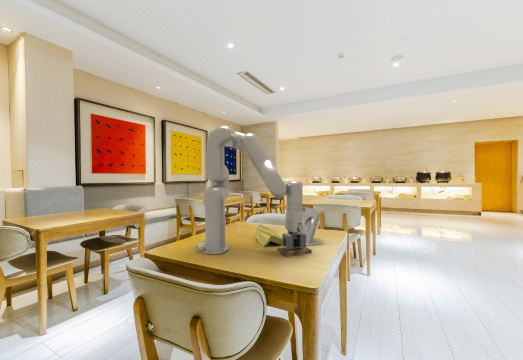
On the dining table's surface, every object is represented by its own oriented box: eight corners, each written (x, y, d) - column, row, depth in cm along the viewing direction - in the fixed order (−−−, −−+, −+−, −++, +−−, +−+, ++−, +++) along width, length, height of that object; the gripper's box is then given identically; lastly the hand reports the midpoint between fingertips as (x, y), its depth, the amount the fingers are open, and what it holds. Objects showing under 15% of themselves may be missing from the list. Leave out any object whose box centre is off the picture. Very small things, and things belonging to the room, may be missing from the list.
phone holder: (289, 237, 136) (289, 207, 135) (304, 236, 140) (304, 206, 139) (305, 246, 120) (306, 211, 119) (322, 244, 124) (322, 210, 123)
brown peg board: (284, 256, 106) (284, 244, 105) (277, 251, 113) (277, 239, 113) (311, 253, 110) (311, 241, 110) (303, 247, 118) (303, 237, 118)
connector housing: (286, 249, 108) (287, 236, 107) (282, 246, 112) (282, 233, 112) (306, 247, 111) (306, 234, 111) (300, 244, 116) (301, 231, 115)
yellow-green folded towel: (285, 240, 123) (270, 234, 119) (279, 253, 122) (263, 247, 119) (271, 229, 141) (257, 223, 138) (265, 240, 141) (251, 234, 137)
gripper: (279, 205, 118) (279, 240, 118) (295, 210, 102) (295, 251, 102) (293, 204, 120) (292, 239, 121) (310, 209, 104) (310, 249, 105)
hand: (294, 244), depth 112 cm, fingers closed on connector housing, 5 cm apart
